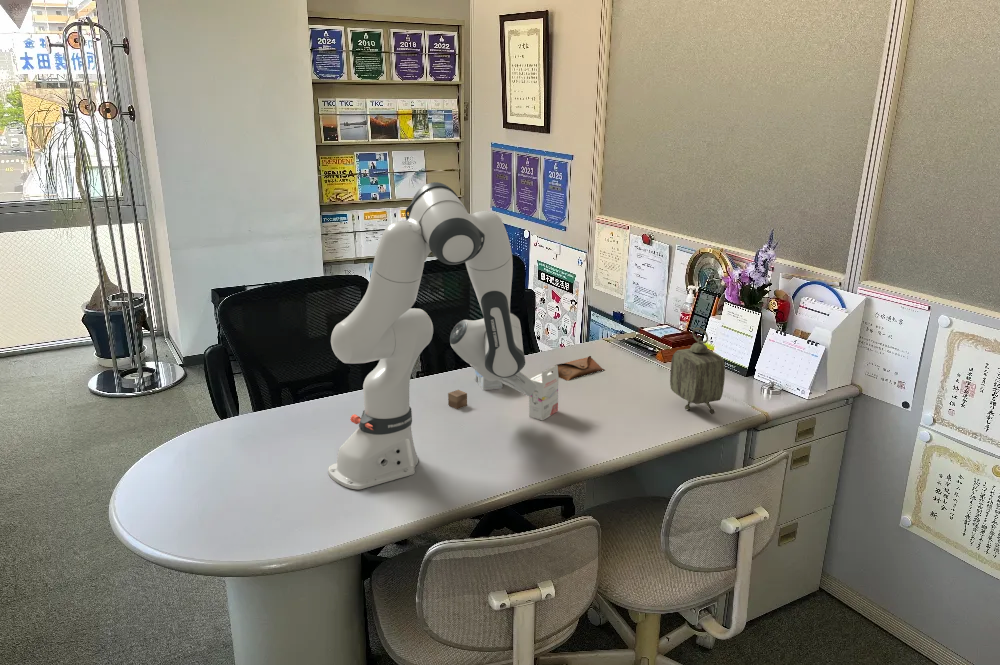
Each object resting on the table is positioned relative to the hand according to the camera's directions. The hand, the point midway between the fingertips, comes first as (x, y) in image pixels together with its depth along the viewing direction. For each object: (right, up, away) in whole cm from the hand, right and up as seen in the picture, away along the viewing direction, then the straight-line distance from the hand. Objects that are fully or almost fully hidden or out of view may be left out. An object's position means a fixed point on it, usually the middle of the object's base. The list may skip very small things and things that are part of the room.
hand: (522, 390), depth 202 cm
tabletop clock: (+51, -7, +12) cm, 53 cm away
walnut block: (-19, -6, +15) cm, 25 cm away
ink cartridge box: (+6, -8, +9) cm, 13 cm away
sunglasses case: (+20, +2, +43) cm, 47 cm away
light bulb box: (-10, -1, +32) cm, 34 cm away
